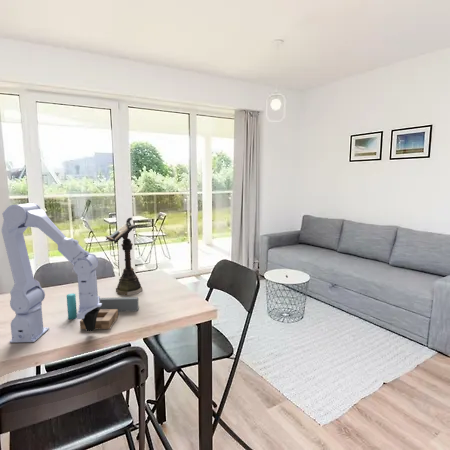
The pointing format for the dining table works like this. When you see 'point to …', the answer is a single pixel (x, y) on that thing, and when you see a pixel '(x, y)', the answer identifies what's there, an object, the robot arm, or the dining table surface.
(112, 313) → the wooden square frame
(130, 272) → the dark bronze tall stand
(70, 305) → the dowel
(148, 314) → the dining table surface
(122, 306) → the backstop wall
